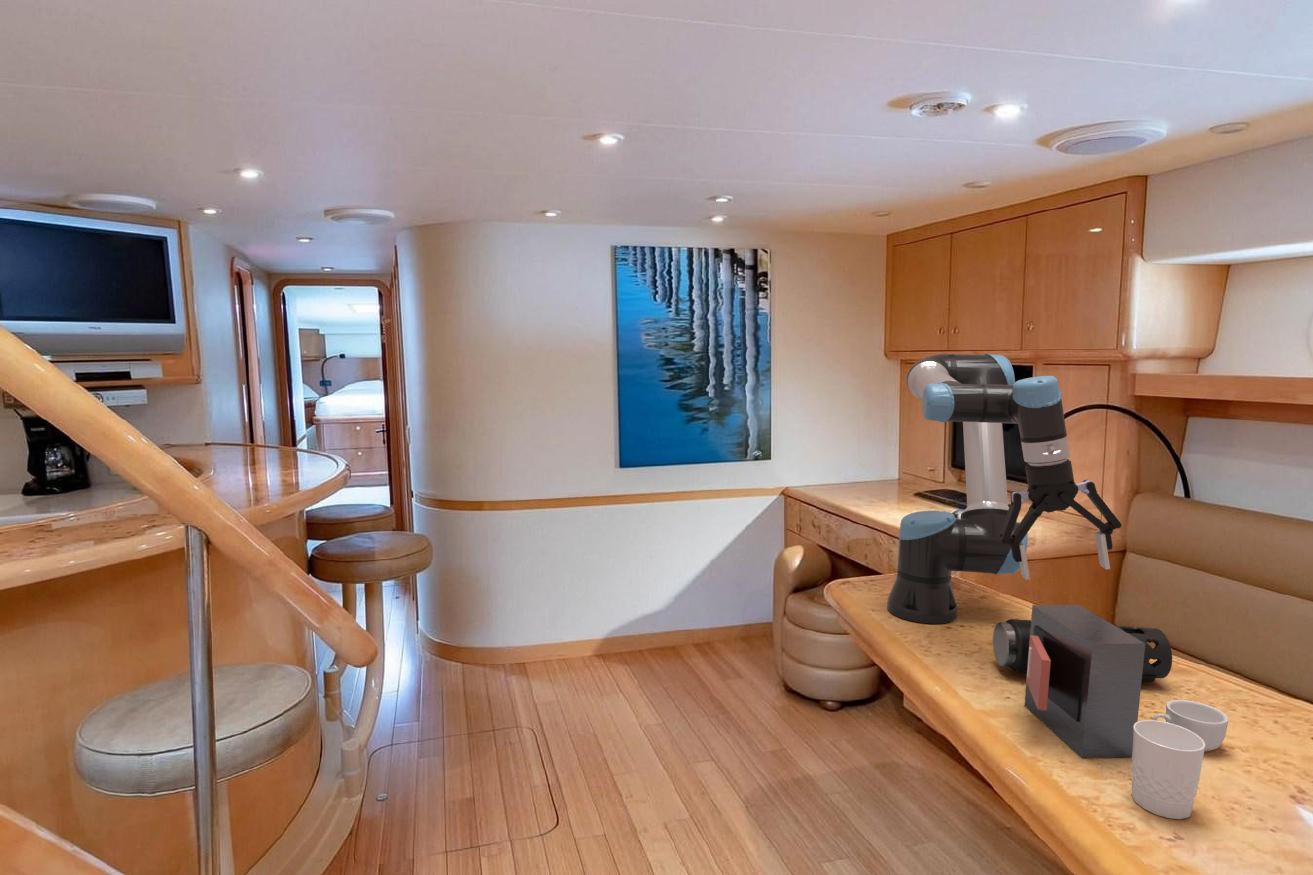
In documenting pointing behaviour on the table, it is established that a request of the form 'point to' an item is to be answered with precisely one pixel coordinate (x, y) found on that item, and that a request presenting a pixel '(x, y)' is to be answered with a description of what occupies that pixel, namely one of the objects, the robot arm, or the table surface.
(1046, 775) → the table surface
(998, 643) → the muzzle brake
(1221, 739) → the teacup
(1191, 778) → the white cup
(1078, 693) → the switch box
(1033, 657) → the rocker
